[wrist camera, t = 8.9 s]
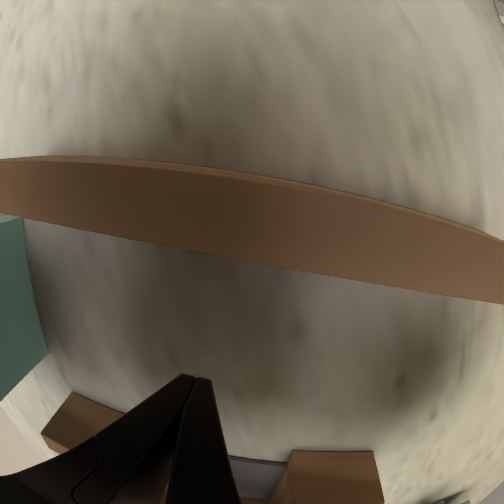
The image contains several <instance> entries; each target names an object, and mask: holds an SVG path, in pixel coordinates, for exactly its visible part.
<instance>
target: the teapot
mask: <svg viewBox="0 0 504 504" xmlns="http://www.w3.org/2000/svg"><path fill="white" fill-rule="evenodd" d="M444 502H445V500H441V501H439V502H436V503H434V504H444ZM461 504H470V501H469V500H468V501H466V502H464V503H461Z"/></svg>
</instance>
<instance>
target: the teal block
mask: <svg viewBox="0 0 504 504" xmlns="http://www.w3.org/2000/svg"><path fill="white" fill-rule="evenodd" d="M48 353H49V351H48V348H47V345H46V342H45V338H44V335H43V331H42V328H41V324H40V320H39V316H38V312H37V308H36V304H35V299H34V295H33V290H32V284H31V279H30V273H29V267H28V260H27V253H26V245H25V236H24V225H23V218H22V217H17V216H11V215H0V402H1V401H2V400H3V398H4V397H5V396H6V395H7V394H8V393H9V392H10V391H11V390H12V389H13V388H14V387H15V386H16V385H17V384H18V383H19V382H20V381H21V380H22V379H23V378H24V377H25V376H26V375H27V374H28V373H29V372H30V371H31V370H32V369H33V368H34V367H35V366H36V365H37V364H38V363H39V362H40V361H41V360H42V359H43V358H44V357H45V356H46V355H47V354H48Z"/></svg>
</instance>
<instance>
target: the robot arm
mask: <svg viewBox="0 0 504 504" xmlns="http://www.w3.org/2000/svg"><path fill="white" fill-rule="evenodd" d="M168 481H169V485H168V491H167V497H166V503H165V504H242V501H241V498H240V495H239V492H238V489H237V486H236V482H235V478H234V477H233V471H232V467H231V464H230V460H229V456H228V452H227V448H226V444H225V439H224V435H223V431H222V427H221V422H220V418H219V413H218V409H217V404H216V399H215V395H214V390H213V385H212V381H211V380H210V379H207V378H202V377H197V378H196V377H195V376H193V375H189V374H185V373H182V374H180V375H179V376H177V377H176V378H175V379H173V380H172V381H170V382H169V383H168V384H166V385H165V386H164V387H162V388H161V389H160V390H158V391H157V392H155V393H154V394H153V395H151V396H150V397H148V398H147V399H146V400H144V401H143V402H141V403H140V404H139V405H137V406H136V407H134V408H133V409H131V410H130V411H129V412H127V413H126V414H124V415H123V416H121V417H120V418H118V419H117V420H116V421H114V422H113V423H111V424H110V425H108V426H107V427H105V428H104V429H102V430H101V431H99V432H98V433H96V434H95V436H91V437H90V438H88V439H87V440H85V441H84V442H82V443H80V444H79V445H77V446H75V447H74V448H72V449H70V450H68V451H66V452H64V453H62V454H60V455H58V456H56V457H54V458H52V459H49V460H47V461H45V462H42V463H40V464H38V465H35V466H33V467H30V468H28V469H25V470H22V471H20V472H18V473H14V474H11V475H6V476H0V504H159V502H160V500H161V497H162V495H163V493H164V490H165V488H166V486H167V483H168Z"/></svg>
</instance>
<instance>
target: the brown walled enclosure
mask: <svg viewBox="0 0 504 504" xmlns="http://www.w3.org/2000/svg"><path fill="white" fill-rule="evenodd" d="M0 213H2V214H7V215H12V216H17V217H22V218H27V219H32V220H36V221H41V222H46V223H51V224H56V225H61V226H66V227H71V228H76V229H81V230H86V231H91V232H96V233H101V234H107V235H112V236H117V237H122V238H127V239H132V240H138V241H143V242H148V243H153V244H158V245H164V246H169V247H174V248H180V249H185V250H190V251H196V252H201V253H206V254H212V255H217V256H222V257H228V258H233V259H239V260H244V261H250V262H255V263H261V264H266V265H272V266H277V267H283V268H289V269H294V270H300V271H306V272H311V273H317V274H323V275H328V276H334V277H340V278H346V279H351V280H357V281H363V282H369V283H375V284H381V285H386V286H392V287H398V288H404V289H410V290H416V291H422V292H428V293H435V294H441V295H447V296H453V297H459V298H465V299H472V300H478V301H484V302H491V303H497V304H504V241H503V240H500V239H498V238H496V237H494V236H491V235H489V234H487V233H484V232H482V231H479V230H476V229H473V228H471V227H468V226H465V225H462V224H459V223H456V222H452V221H449V220H446V219H443V218H440V217H437V216H433V215H430V214H427V213H423V212H420V211H416V210H413V209H409V208H406V207H402V206H399V205H395V204H391V203H387V202H384V201H380V200H376V199H372V198H368V197H364V196H360V195H356V194H351V193H347V192H343V191H338V190H334V189H329V188H325V187H320V186H315V185H310V184H305V183H300V182H295V181H290V180H285V179H279V178H274V177H268V176H262V175H256V174H250V173H244V172H238V171H231V170H224V169H217V168H210V167H202V166H194V165H186V164H177V163H167V162H157V161H146V160H134V159H121V158H105V157H83V156H33V157H19V158H8V159H0ZM123 415H124V414H123V413H121V412H118V411H115V410H113V409H110V408H108V407H105V406H103V405H100V404H98V403H95V402H93V401H91V400H88V399H86V398H84V397H82V396H79V395H77V394H75V393H73V392H72V393H71V394H70V395H69V396H68V398H67V399H66V400H65V402H64V403H63V404H62V405H61V407H60V408H59V409H58V411H57V412H56V413H55V414H54V416H53V417H52V418H51V420H50V421H49V422H48V424H47V425H46V426H45V428H44V429H43V430H42V432H41V435H42V437H43V439H44V440H45V442H46V444H47V445H48V447H49V448H50V449H52V450H54V451H55V452H57V453H59V454H62V453H64V452H66V451H68V450H70V449H72V448H74V447H75V446H77V445H79V444H80V443H82V442H84V441H85V440H87V439H88V438H90V437H91V436H95V434H96V433H98V432H99V431H101V430H102V429H104V428H105V427H107V426H108V425H110V424H111V423H113V422H114V421H116V420H117V419H118V418H120V417H121V416H123ZM229 460H230V464H231V467H232V471H233V477H234V478H235V482H236V486H237V489H238V492H239V495H240V498H241V501H242V504H384V503H385V502H384V497H383V492H382V488H381V483H380V479H379V474H378V470H377V466H376V462H375V458H374V453H373V451H367V452H312V451H295V450H294V451H293V453H292V455H291V457H290V459H289V461H288V462H287V463H278V462H268V461H259V460H252V459H245V458H238V457H232V456H229ZM168 485H169V481H168V483H167V486H166V488H165V490H164V493H163V495H162V497H161V500H160V502H159V504H165V503H166V497H167V491H168Z"/></svg>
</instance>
